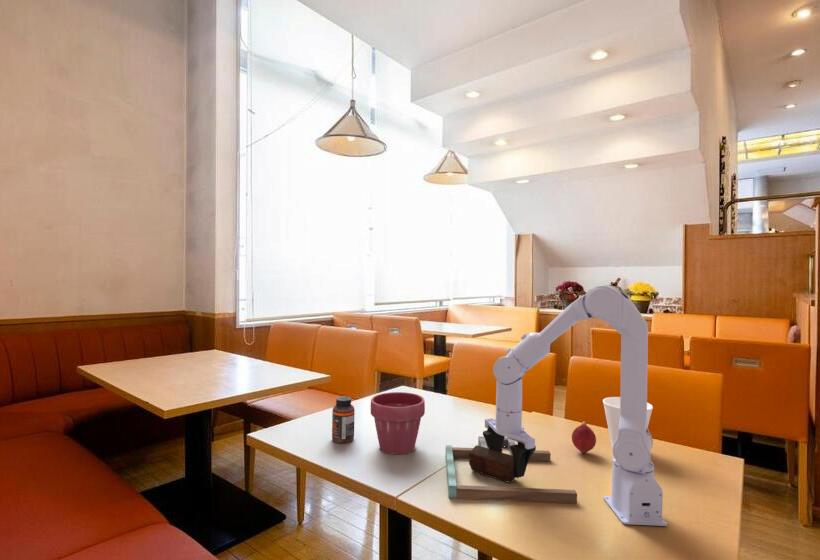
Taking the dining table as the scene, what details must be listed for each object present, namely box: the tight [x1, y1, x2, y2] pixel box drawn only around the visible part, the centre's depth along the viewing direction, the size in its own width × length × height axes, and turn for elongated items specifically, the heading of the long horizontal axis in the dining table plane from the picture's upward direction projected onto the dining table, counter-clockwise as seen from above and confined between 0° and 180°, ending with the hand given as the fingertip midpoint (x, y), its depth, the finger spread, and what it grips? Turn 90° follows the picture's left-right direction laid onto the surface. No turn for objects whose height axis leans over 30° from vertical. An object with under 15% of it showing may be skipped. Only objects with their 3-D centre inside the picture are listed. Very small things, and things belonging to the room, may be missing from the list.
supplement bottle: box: [331, 395, 356, 444], centre depth 118 cm, size 6×6×11 cm
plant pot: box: [370, 391, 426, 455], centre depth 113 cm, size 14×14×13 cm
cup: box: [602, 396, 654, 450], centre depth 114 cm, size 12×12×12 cm
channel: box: [445, 435, 578, 504], centre depth 102 cm, size 29×26×2 cm
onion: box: [571, 421, 597, 454], centre depth 112 cm, size 6×6×8 cm
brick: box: [468, 445, 517, 484], centre depth 98 cm, size 11×4×5 cm, turn 53°
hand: (507, 469), depth 98 cm, fingers open, 7 cm apart
